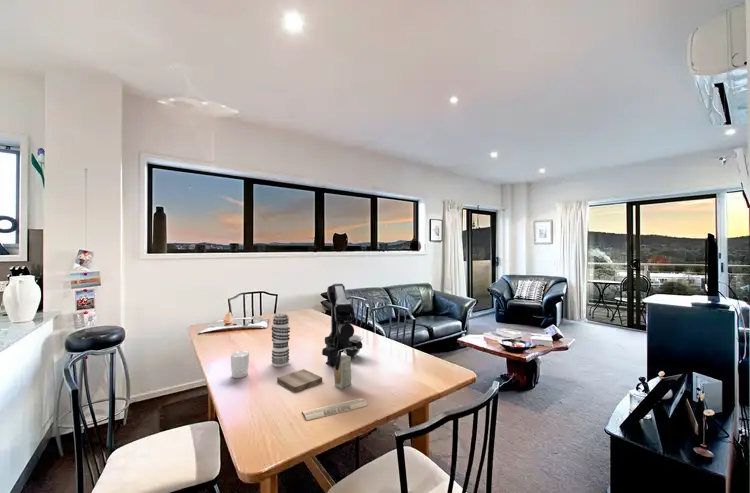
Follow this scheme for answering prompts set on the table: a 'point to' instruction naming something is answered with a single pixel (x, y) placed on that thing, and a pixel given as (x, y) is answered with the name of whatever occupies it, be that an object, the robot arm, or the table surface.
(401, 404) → the table surface
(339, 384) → the skincare box
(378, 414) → the table surface
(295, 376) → the walnut block
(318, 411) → the newspaper
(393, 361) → the table surface
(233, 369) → the white cup
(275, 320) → the decorative candle
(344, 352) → the teacup
